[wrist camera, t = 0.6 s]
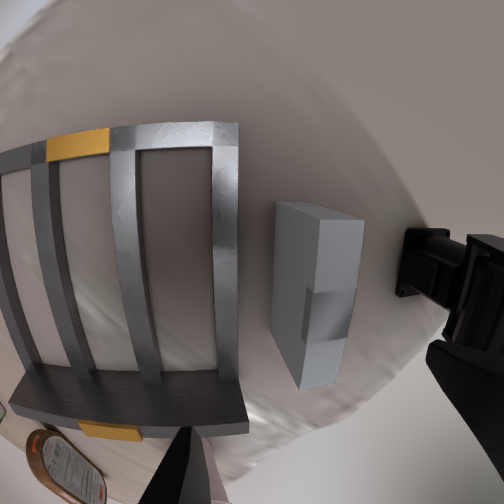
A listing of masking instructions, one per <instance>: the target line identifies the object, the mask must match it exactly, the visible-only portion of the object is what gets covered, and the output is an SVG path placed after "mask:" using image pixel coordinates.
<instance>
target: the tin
mask: <svg viewBox="0 0 504 504" xmlns="http://www.w3.org/2000/svg"><path fill="white" fill-rule="evenodd" d="M26 456H27V461H28V464H29V467H30V469H31V471H32V473H33V474H34V476H35V477H36V478H37V480H38V481H39V482H40V483H41V484H43V485H44V486H46V487H47V488H48V489H49V490H51V491H52V492H53V493H55V494H56V495H58V496H59V497H61V498H62V499H63V500H65V501H66V502H68V503H69V504H106V501H107V487H106V484H105V481H104V479H103V476H102V475H101V473H100V471H99V470H98V469H97V468H96V467H95V466H94V465H93V464H92V463H91V462H90V461H89V460H88V459H87V458H86V457H85V456H84V455H83V454H81V453H80V452H79V451H78V450H77V449H76V448H75V447H74V446H73V445H72V444H71V443H70V442H69V441H68V439H67V438H66V437H65V436H63V435H62V434H61V433H59V432H56V431H51V430H43V429H37V430H34V431H33V432H32V433H31V434H30V435H29V437H28V439H27V442H26Z"/></svg>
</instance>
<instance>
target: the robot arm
mask: <svg viewBox="0 0 504 504" xmlns="http://www.w3.org/2000/svg"><path fill="white" fill-rule="evenodd" d="M411 233H412V234H411ZM449 238H450V230H448V229H444V228H443V229H442V228H409V229H408V230H407V232H406V237H405V244H404V251H403V257H402V263H401V269H400V274H399V279H398V284H397V289H396V295H397V296H398V297H400V298H402V297H407V296H412V295H417V294H422V295H424V296H425V297H427V298H428V299H430V300H432V301H433V302H435V303H436V304H438V305H439V306H441V307H443V308H444V309H446V310H447V311H449V312H450V314H449V317H448V320H447V323H446V326H445V328H444V329H443V332H442V336H443V337H444V338H445V340H446V341H447V342H446V341H442V340H435V341H433V342H431V343H430V344H429V346H428V350H427V354H426V363H427V365H428V367H429V369H430V370H431V372H432V374H433V375H434V377H435V378H436V380H437V382H438V384H439V385H440V387H441V389H442V390H443V392H444V393H445V395H446V396H447V397H448V399H449V400H450V401H451V403H452V404H453V405H454V407H455V408H456V409H457V411H458V412H459V414H460V415H461V416H462V418H463V419H464V421H465V422H466V423H467V425H468V426H469V428H470V429H471V431H472V432H473V434H474V435H475V437H476V438H477V440H478V441H479V443H480V444H481V446H482V447H483V449H484V450H485V452H486V453H487V455H488V457H489V458H490V460H491V461H492V463H493V465H494V466H495V468H496V469H497V471H498V473H499V475H500V476H501V478H502V480H503V482H504V238H500V237H497V236H494V235H488V234H483V235H482V234H468V235H467V239H466V241H467V245H464V244H461V243H458V242H456V241H453V240H451V239H449ZM400 292H401V293H400ZM138 504H211V495H210V482H209V475H208V470H207V465H206V460H205V454H204V449H203V443H202V440H201V437H200V436H199V434H198V433H197V431H196V430H195V428H194V427H193V426H192V425H189V426H182V427H180V428H179V430H178V432H177V434H176V436H175V438H174V439H173V441H172V443H171V445H170V447H169V449H168V450H167V452H166V454H165V456H164V458H163V459H162V461H161V463H160V465H159V467H158V469H157V470H156V472H155V474H154V476H153V477H152V479H151V481H150V483H149V485H148V486H147V488H146V490H145V492H144V493H143V495H142V497H141V499H140V501H139V503H138Z"/></svg>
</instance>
